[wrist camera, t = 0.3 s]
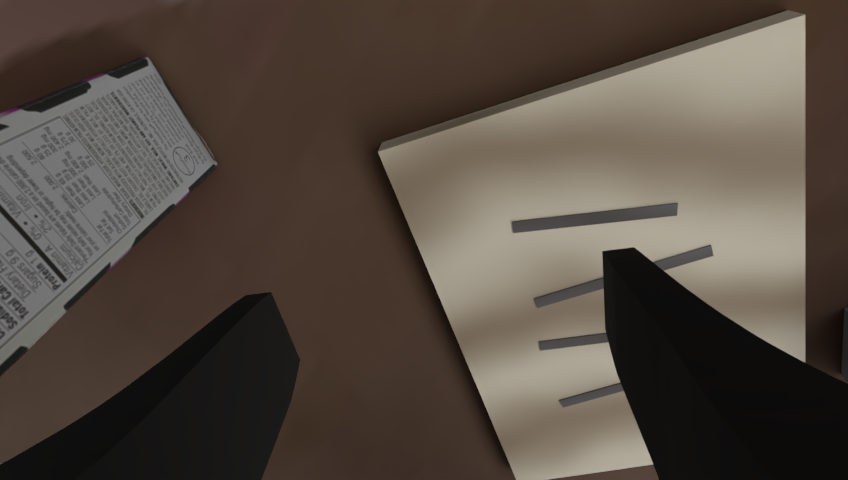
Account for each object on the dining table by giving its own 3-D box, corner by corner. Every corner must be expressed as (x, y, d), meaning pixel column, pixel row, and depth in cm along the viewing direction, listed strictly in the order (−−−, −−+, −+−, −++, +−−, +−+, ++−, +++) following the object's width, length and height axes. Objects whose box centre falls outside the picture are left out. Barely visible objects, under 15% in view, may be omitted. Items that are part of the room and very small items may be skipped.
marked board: (794, 425, 25) (806, 443, 25) (516, 467, 29) (518, 484, 28) (787, 10, 16) (806, 14, 15) (381, 142, 20) (377, 152, 19)
